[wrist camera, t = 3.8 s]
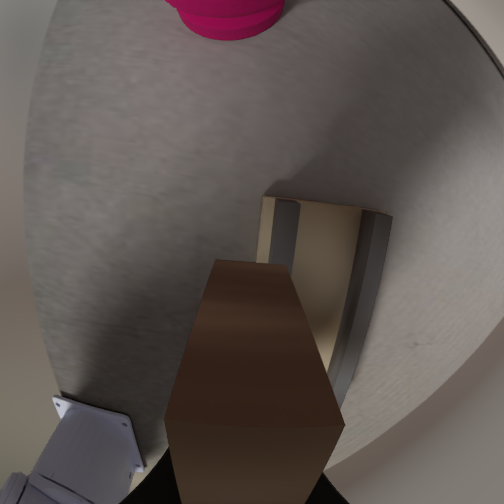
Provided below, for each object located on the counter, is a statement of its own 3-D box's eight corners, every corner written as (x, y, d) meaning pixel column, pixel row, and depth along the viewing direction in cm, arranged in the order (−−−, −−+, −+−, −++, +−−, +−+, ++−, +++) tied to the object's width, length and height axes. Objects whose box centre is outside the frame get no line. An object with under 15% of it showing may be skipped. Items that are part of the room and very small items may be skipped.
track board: (330, 405, 20) (338, 430, 17) (240, 405, 20) (240, 432, 17) (379, 210, 16) (402, 218, 14) (262, 195, 16) (266, 200, 13)
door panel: (259, 465, 13) (264, 570, 7) (211, 462, 13) (201, 568, 6) (294, 265, 10) (365, 423, 3) (215, 259, 10) (163, 417, 3)
